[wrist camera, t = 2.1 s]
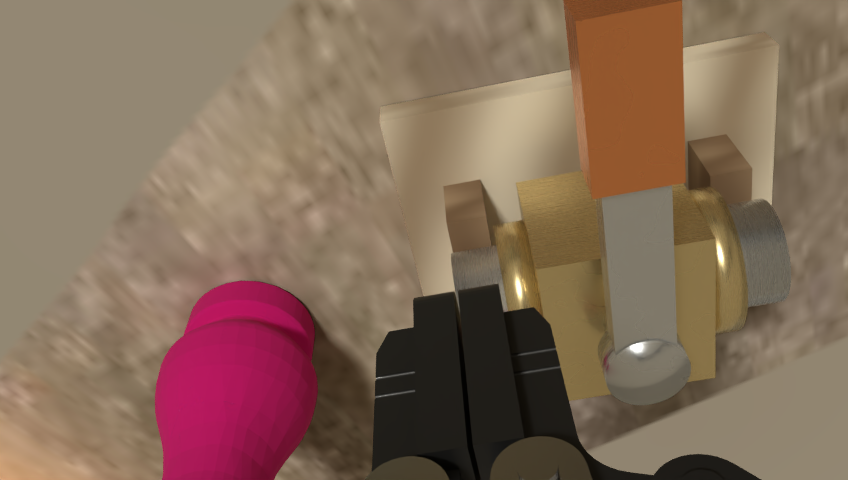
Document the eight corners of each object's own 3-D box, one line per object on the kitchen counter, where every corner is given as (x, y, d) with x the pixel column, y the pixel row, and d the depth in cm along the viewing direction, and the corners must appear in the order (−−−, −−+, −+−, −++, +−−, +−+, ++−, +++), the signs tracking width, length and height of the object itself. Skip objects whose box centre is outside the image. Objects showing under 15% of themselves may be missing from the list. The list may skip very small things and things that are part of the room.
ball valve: (743, 140, 32) (817, 234, 26) (740, 270, 35) (804, 377, 29) (442, 195, 33) (450, 296, 27) (468, 316, 36) (480, 428, 31)
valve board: (764, 32, 33) (811, 74, 29) (756, 267, 39) (793, 326, 36) (380, 106, 34) (377, 156, 30) (433, 321, 41) (436, 384, 37)
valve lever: (665, -22, 21) (685, -1, 20) (678, 365, 29) (693, 402, 27) (559, 0, 21) (571, 22, 20) (599, 378, 29) (610, 415, 27)
